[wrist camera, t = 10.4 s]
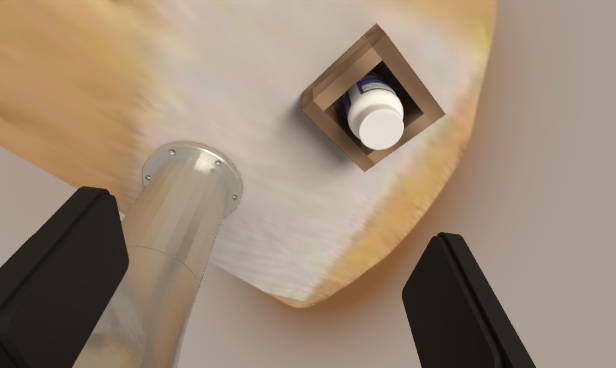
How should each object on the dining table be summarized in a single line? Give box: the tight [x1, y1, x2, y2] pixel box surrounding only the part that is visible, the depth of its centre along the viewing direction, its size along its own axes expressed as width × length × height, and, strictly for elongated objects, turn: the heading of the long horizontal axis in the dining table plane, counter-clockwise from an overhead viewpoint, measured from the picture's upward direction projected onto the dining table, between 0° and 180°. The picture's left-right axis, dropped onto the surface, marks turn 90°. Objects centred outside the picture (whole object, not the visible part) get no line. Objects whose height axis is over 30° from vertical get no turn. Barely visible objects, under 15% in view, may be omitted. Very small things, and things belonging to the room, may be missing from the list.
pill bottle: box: [343, 72, 404, 150], centre depth 32 cm, size 5×5×9 cm
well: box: [302, 23, 445, 172], centre depth 33 cm, size 10×10×5 cm
